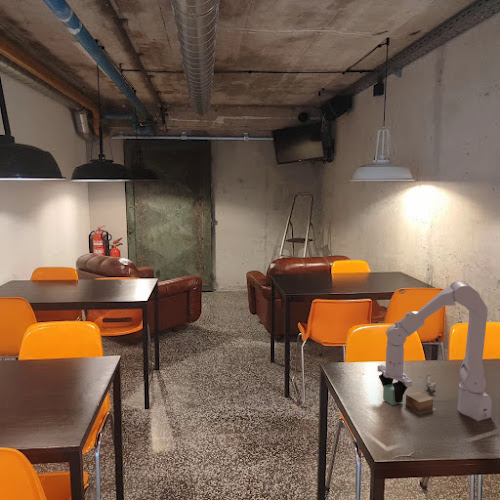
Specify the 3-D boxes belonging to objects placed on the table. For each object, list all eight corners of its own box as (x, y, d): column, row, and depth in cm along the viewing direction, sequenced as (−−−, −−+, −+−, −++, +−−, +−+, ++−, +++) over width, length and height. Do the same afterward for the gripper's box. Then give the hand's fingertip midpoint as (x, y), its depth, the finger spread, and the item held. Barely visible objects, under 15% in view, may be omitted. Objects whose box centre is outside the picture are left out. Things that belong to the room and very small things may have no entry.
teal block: (402, 402, 145) (403, 388, 145) (392, 405, 144) (392, 391, 143) (393, 396, 150) (393, 383, 149) (383, 399, 148) (383, 385, 147)
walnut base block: (432, 408, 142) (433, 398, 142) (419, 412, 140) (419, 402, 139) (419, 400, 148) (419, 391, 147) (405, 404, 145) (406, 394, 145)
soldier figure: (441, 386, 163) (448, 390, 152) (431, 394, 164) (437, 398, 152) (426, 370, 166) (432, 372, 154) (416, 378, 166) (421, 381, 155)
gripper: (371, 355, 150) (369, 391, 151) (401, 370, 137) (399, 410, 138) (386, 352, 153) (385, 388, 154) (417, 366, 139) (415, 406, 141)
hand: (392, 398), depth 147 cm, fingers closed on teal block, 5 cm apart
